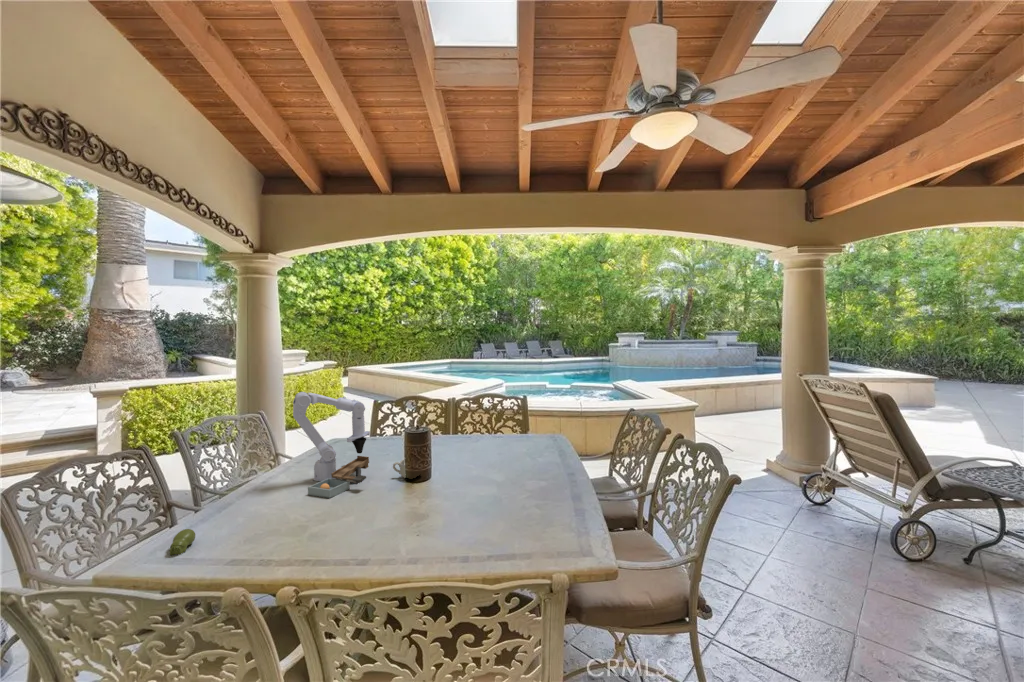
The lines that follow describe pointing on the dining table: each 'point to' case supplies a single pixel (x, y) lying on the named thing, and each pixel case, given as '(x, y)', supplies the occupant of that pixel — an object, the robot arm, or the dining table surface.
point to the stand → (358, 472)
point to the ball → (325, 486)
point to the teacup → (402, 468)
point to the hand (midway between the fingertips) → (359, 453)
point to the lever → (352, 469)
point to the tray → (334, 490)
